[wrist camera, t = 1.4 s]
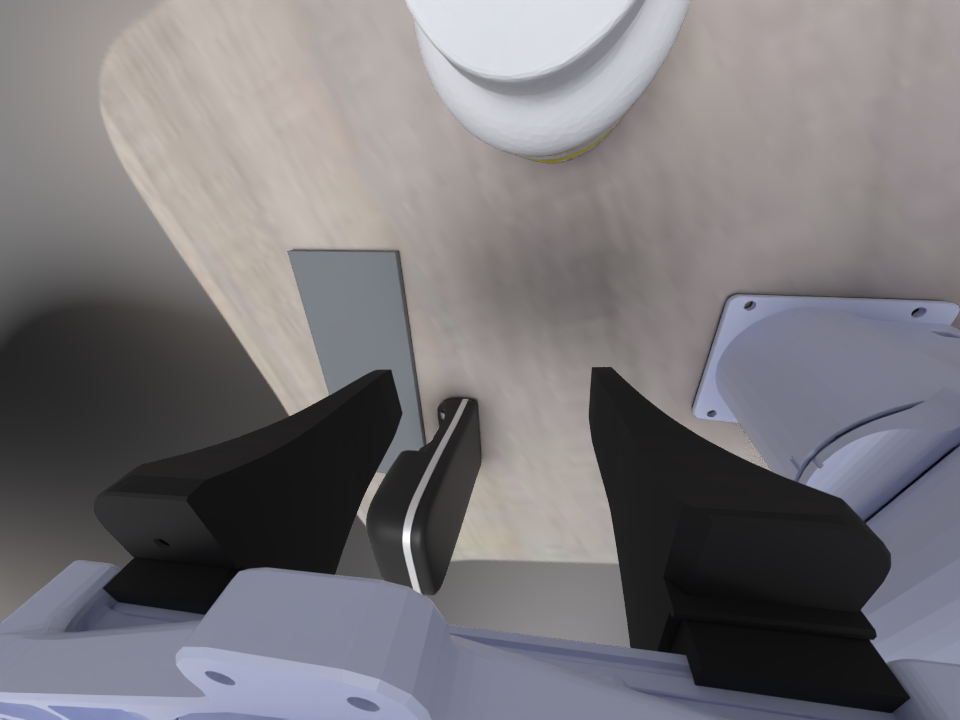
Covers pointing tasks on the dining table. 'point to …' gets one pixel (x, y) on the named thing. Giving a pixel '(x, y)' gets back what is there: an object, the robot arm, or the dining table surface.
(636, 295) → the dining table surface
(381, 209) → the dining table surface
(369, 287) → the mat
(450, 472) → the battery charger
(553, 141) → the supplement bottle
